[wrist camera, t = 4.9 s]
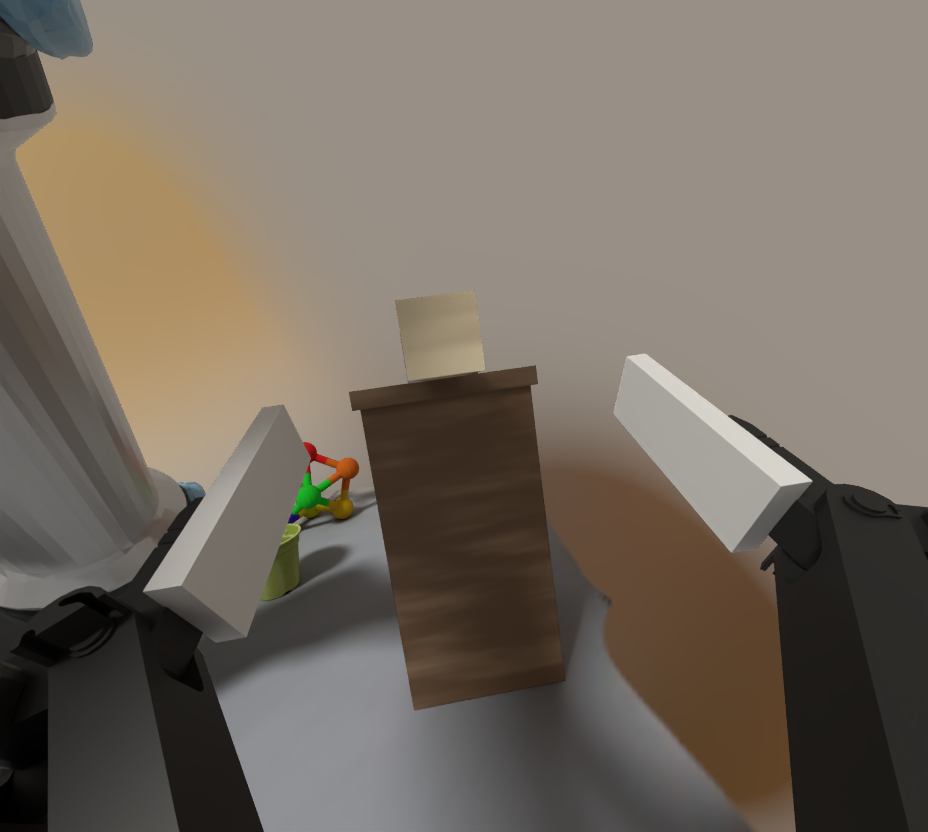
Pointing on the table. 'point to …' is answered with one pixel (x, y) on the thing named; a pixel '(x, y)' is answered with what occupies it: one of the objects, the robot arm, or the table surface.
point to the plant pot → (284, 565)
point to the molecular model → (311, 495)
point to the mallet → (440, 336)
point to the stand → (465, 533)
